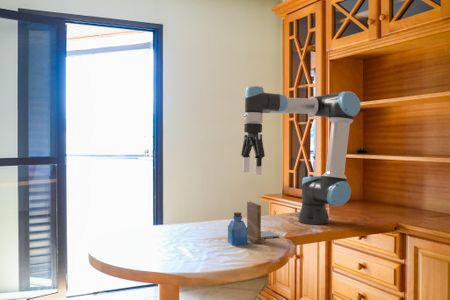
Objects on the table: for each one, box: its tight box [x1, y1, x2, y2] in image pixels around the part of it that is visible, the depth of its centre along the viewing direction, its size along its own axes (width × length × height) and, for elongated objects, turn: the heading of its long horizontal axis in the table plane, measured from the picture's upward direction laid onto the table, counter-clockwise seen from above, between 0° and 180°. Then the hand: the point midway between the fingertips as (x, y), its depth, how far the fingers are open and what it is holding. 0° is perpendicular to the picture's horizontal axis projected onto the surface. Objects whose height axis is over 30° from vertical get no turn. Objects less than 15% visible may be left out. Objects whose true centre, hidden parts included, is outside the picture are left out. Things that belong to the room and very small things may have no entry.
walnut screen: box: [246, 201, 267, 245], centre depth 161 cm, size 5×12×15 cm, turn 20°
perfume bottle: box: [227, 211, 248, 247], centre depth 157 cm, size 6×6×12 cm
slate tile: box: [261, 230, 280, 239], centre depth 169 cm, size 9×9×1 cm
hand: (251, 173), depth 167 cm, fingers open, 13 cm apart
